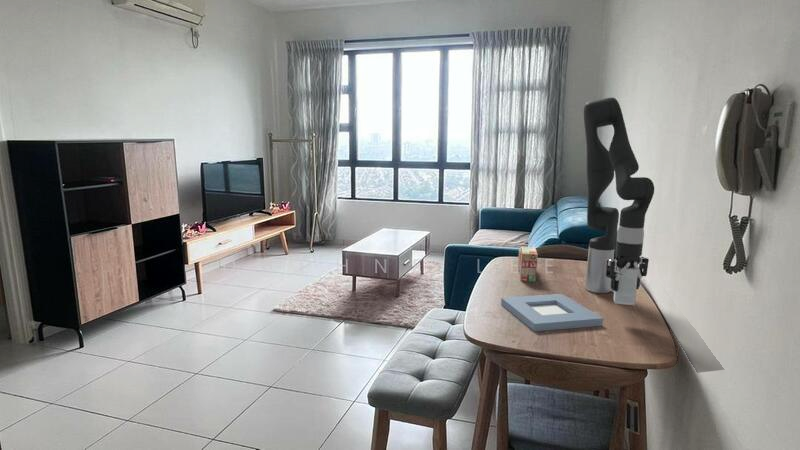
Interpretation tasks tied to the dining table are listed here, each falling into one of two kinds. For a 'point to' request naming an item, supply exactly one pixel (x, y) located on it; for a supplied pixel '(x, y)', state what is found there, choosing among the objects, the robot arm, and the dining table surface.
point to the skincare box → (626, 287)
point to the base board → (550, 312)
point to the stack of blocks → (527, 263)
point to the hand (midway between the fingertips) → (624, 289)
